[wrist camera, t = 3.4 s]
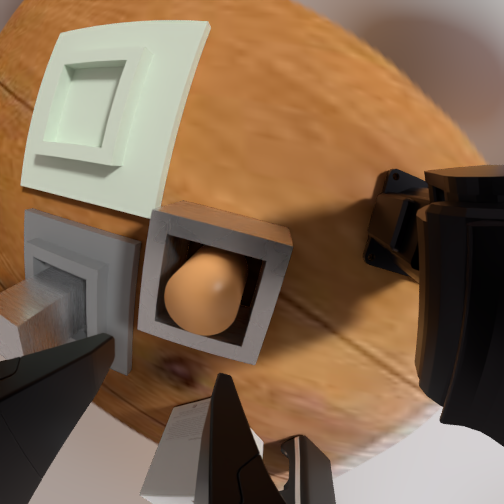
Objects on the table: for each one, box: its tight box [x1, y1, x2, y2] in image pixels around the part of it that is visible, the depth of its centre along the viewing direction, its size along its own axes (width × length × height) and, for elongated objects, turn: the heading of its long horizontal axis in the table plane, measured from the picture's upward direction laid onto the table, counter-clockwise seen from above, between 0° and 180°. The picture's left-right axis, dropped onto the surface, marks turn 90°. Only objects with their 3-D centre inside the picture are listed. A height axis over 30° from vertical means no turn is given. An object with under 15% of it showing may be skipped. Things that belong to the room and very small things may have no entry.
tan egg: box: [164, 245, 248, 336], centre depth 15 cm, size 4×4×5 cm
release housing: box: [138, 201, 293, 365], centre depth 16 cm, size 7×7×5 cm
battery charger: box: [279, 436, 336, 504], centre depth 18 cm, size 7×4×11 cm, turn 33°
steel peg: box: [0, 266, 87, 360], centre depth 16 cm, size 4×4×8 cm
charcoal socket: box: [24, 208, 141, 376], centre depth 19 cm, size 12×12×2 cm
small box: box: [140, 398, 264, 504], centre depth 18 cm, size 8×6×10 cm
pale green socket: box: [21, 20, 211, 219], centre depth 15 cm, size 14×14×2 cm
